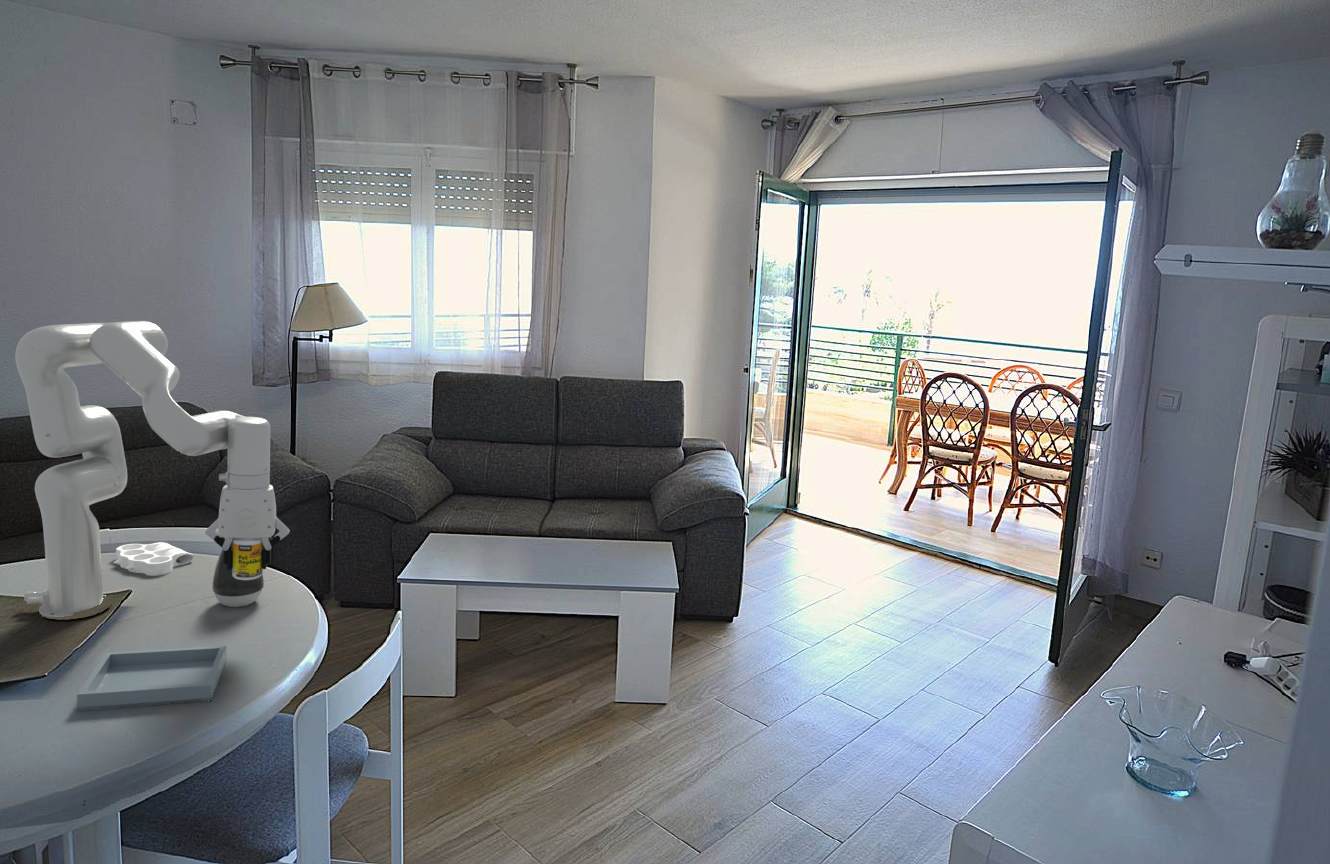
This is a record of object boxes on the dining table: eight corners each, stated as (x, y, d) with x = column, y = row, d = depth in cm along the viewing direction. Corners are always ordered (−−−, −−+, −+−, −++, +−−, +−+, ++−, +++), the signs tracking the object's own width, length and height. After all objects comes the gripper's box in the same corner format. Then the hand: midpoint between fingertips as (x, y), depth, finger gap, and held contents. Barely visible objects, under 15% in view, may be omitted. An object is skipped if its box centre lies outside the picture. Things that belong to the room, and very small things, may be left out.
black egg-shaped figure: (251, 590, 198) (250, 527, 196) (272, 604, 192) (271, 539, 189) (204, 600, 191) (203, 535, 188) (224, 615, 184) (223, 548, 181)
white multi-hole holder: (201, 566, 212) (139, 582, 199) (161, 549, 221) (100, 563, 209) (201, 553, 211) (138, 568, 199) (161, 536, 220) (99, 550, 208)
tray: (78, 710, 144) (77, 694, 143) (106, 667, 159) (105, 652, 158) (211, 700, 150) (211, 685, 149) (226, 660, 165) (226, 645, 164)
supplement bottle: (234, 582, 169) (234, 533, 167) (230, 572, 174) (230, 524, 172) (265, 579, 172) (265, 530, 170) (260, 569, 177) (261, 522, 175)
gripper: (195, 484, 163) (195, 574, 166) (294, 486, 168) (292, 573, 172) (203, 474, 170) (203, 561, 173) (297, 476, 175) (295, 560, 179)
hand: (247, 566), depth 172 cm, fingers closed on supplement bottle, 5 cm apart
